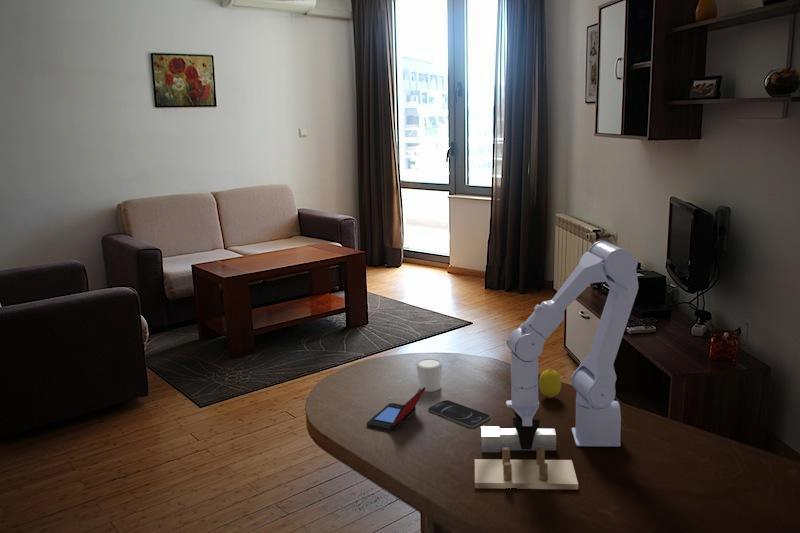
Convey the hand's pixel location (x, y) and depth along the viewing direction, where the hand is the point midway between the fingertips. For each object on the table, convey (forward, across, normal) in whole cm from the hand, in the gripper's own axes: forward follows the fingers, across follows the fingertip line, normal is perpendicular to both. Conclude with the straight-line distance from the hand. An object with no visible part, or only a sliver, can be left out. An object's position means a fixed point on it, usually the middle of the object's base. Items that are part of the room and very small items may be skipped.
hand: (525, 441), depth 149 cm
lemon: (+2, -25, +8) cm, 26 cm away
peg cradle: (+1, +12, -1) cm, 12 cm away
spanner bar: (+1, 0, -2) cm, 2 cm away
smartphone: (+2, -16, -15) cm, 22 cm away
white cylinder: (+2, -32, -23) cm, 39 cm away
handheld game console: (+2, -13, -30) cm, 33 cm away
